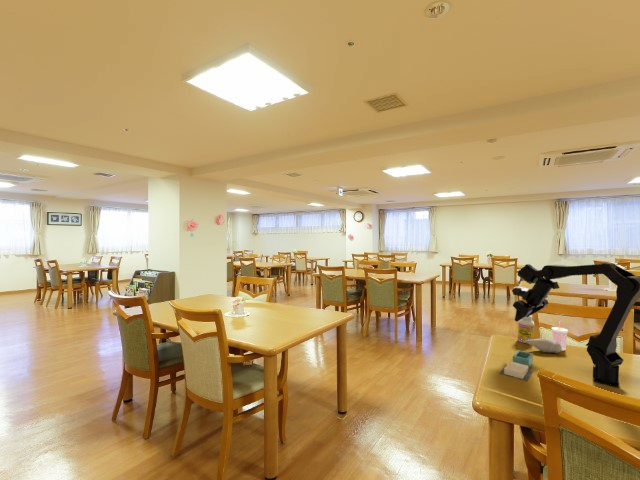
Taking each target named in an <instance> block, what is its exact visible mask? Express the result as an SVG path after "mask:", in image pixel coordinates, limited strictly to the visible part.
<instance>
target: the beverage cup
mask: <svg viewBox="0 0 640 480" xmlns="http://www.w3.org/2000/svg"><path fill="white" fill-rule="evenodd" d="M561 319H562V318H561V317H559V319H558V321H559V323H558V326H552V327H551V336H552V337H551V338H552V341H553V342H556V343H558V344H560V346H561V348H562V349H561V351H566V349H567V347H566V346H567V341H568V340H567V338H568V333H569V329H567V328H565V327H561V321H562V320H561Z"/></svg>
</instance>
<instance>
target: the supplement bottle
mask: <svg viewBox="0 0 640 480" xmlns="http://www.w3.org/2000/svg"><path fill="white" fill-rule="evenodd" d="M517 322H518V323H517V340H518V342H520V343H523V344H529V343H527V342H525V341H523V340H532V339H535V326H536V324H535V322H534V320H533V314H532V315H531V316H529V317H524V318H522V319H521V320H519V321H517ZM521 339H522V340H521ZM529 345H530V344H529Z"/></svg>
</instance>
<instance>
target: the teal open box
mask: <svg viewBox="0 0 640 480" xmlns="http://www.w3.org/2000/svg"><path fill="white" fill-rule="evenodd" d="M512 362H515V363H519V364H523V365H527V366H528V370H529V369H530V367H531V366H532V365H533V363H534V353H531V352H526V351H523V350H519V349H518V350H517V351H516V352H515V353H514V354H513V355H512Z"/></svg>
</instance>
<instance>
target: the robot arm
mask: <svg viewBox="0 0 640 480" xmlns="http://www.w3.org/2000/svg"><path fill="white" fill-rule="evenodd" d="M586 275H587V276H588V275H589V276H590V275H603V276H605V277H607V279H608V280H609V281H610V282H611V283H613V284H615V286H616V290H615V294H616V300H615V302H614V304H613V306H612V308H611V309H610V312H609V314H608V316H607V318H606V320H605V323H603V324H604V325H603V327H602V328H601V331H600V332H599V333H597V334H593V335H590V336H589V339H588V342H587V343H586V344H585V346H586V352H587V354H588V356H590V359H591V361H592V364H593V365H592V378H593V381H594V382H595V383H599V384H603V385H608V386H611V387H615V388H619V387H620V380H619V379H620V378H619V377H620V375H619V374H620V366H621V365H622V364H623V362H624V359H623V358H622V357H621V356H620V355H619V353H618V352H617V345H618V343H617V338H618V336H619V334H620V332H621V330H622V329H623V326H624V324H625V322H626V320H627V318H628V317H629V315H630V312H631V310H632V308H633V306H634V304H635V303H637V302H638V301H639V300H640V275H635V274H634V273H633V272H631V271H628V270H626V269H625V268H622V267H620V266H618V264H617V265H616V263H613V262H604V263H598V264H585V265H566V264H564V265H563V264H549V265H544V266H543V267H542V269H539V270H538V269H537V268H535V267H534V266H532V265H531V264H530V263H527V264H525V265H524V266H523V267H522V268H520V269H519V270H518V271H517V276H518V278H520V279H521V280H524V281H525V282H526V283H527V284H528V285H529V284H530V285H531V284H533V286H532V287H531V288H528V287H524V286H520V285H519V286H514V287H513V288H512V290H511V292H512V295H514V296H516V297H521V298H522V299H520V300H516V301H514V302H513V304H512V307H513V308H514V309H515V316H514V321H515V322H518V321H519V320H521V319H522V318H524V317H529V316H531V315H532V316H533V315H535V314H536V313H537V312H539V311H541V310H543V309H545V308H546V307H547V306H548V305H549V301H548V300H547V298H548V295H549V293H550V291H551V290H558V289H560V285H559V283H558V281H553V280H558V279H564V278H567V277H568V278H569V277H571V276H586Z"/></svg>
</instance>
